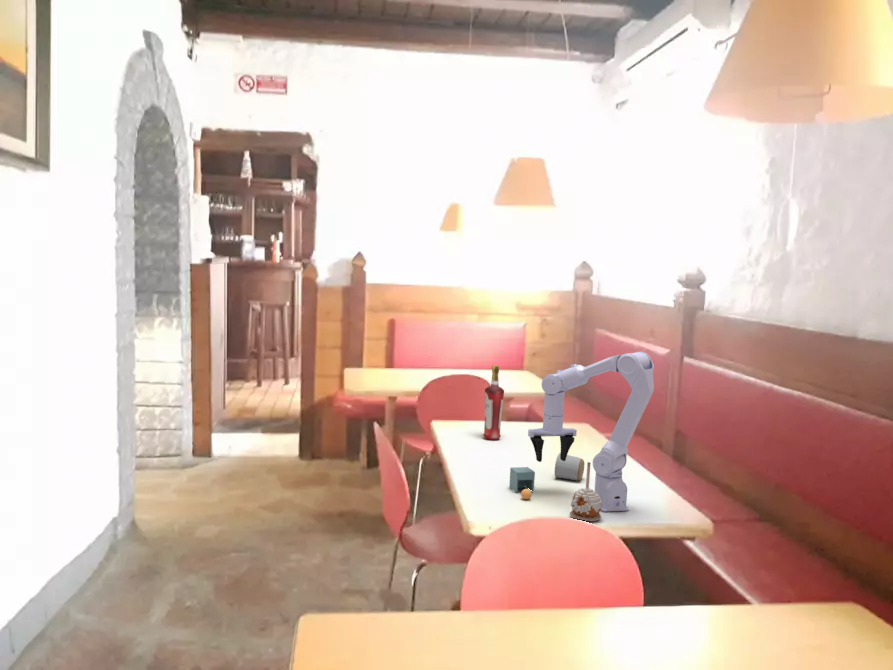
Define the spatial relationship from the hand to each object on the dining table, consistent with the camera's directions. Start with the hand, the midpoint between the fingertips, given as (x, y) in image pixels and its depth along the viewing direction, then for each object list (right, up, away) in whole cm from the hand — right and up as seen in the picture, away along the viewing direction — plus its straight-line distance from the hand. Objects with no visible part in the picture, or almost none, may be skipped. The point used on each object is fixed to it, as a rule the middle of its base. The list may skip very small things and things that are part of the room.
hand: (550, 460), depth 220 cm
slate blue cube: (-9, -9, +1) cm, 12 cm away
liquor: (-13, -3, +66) cm, 67 cm away
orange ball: (-8, -10, -8) cm, 15 cm away
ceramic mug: (+8, -9, +17) cm, 21 cm away
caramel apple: (+6, -12, -22) cm, 25 cm away
